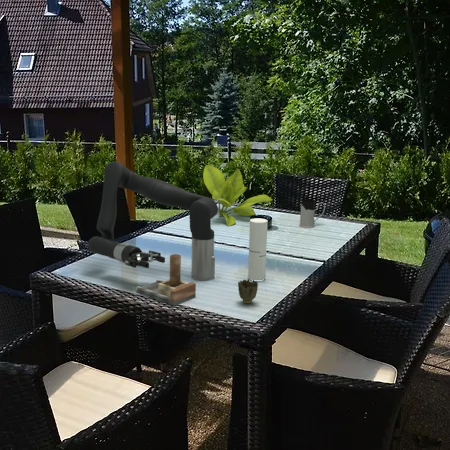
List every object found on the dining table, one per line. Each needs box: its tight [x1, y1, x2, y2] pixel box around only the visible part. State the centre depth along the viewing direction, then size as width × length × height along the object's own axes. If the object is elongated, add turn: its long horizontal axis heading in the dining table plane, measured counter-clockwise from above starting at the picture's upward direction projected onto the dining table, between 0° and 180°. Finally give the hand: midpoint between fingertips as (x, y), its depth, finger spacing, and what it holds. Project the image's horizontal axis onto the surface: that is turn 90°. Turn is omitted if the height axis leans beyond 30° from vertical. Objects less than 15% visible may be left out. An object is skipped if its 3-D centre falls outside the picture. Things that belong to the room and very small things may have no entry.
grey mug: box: [298, 198, 326, 229], centre depth 319 cm, size 9×14×15 cm, turn 96°
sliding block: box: [158, 279, 189, 297], centre depth 212 cm, size 8×8×4 cm
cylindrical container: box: [247, 217, 268, 280], centre depth 231 cm, size 7×7×25 cm
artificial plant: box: [202, 164, 273, 227], centre depth 332 cm, size 42×43×30 cm
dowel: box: [169, 253, 182, 287], centre depth 210 cm, size 4×4×14 cm
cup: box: [237, 279, 259, 305], centre depth 208 cm, size 8×7×8 cm
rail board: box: [136, 279, 197, 307], centre depth 214 cm, size 20×12×6 cm, turn 51°
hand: (156, 262), depth 215 cm, fingers open, 8 cm apart
